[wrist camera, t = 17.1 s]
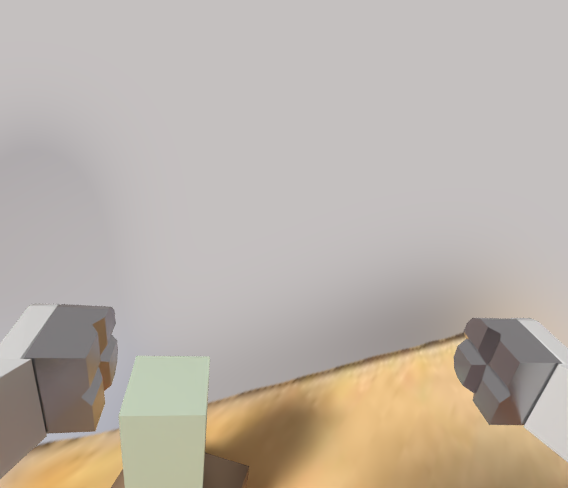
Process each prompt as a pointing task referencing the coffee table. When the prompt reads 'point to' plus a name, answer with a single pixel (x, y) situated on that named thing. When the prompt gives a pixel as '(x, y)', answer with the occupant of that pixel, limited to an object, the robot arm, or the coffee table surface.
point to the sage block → (165, 422)
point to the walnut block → (213, 474)
